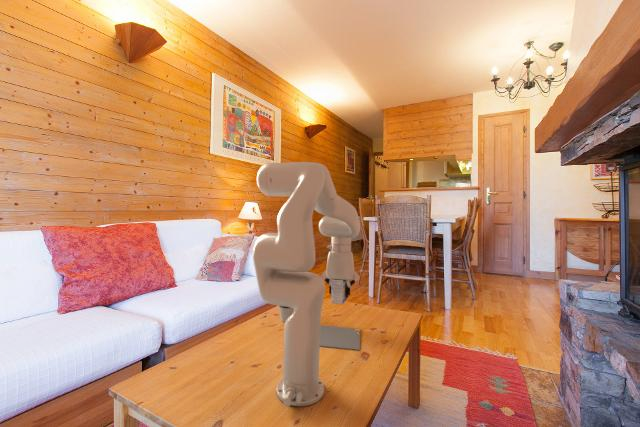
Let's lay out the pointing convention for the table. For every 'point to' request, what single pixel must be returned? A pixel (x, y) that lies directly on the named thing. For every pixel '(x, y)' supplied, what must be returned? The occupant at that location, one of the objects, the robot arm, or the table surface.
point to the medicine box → (338, 291)
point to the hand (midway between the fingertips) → (339, 295)
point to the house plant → (285, 312)
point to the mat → (339, 337)
